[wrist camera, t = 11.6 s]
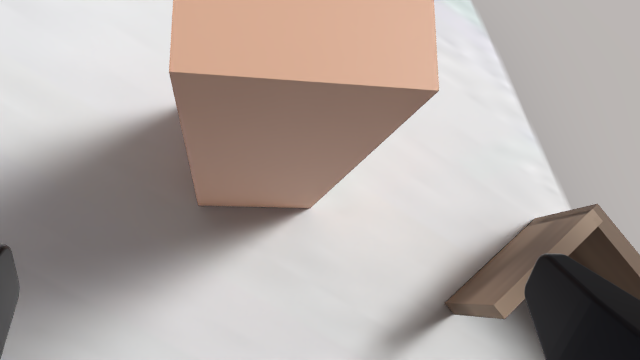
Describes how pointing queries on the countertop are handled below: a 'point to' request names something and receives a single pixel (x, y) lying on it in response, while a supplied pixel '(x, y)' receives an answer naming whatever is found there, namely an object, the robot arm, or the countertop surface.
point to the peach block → (294, 91)
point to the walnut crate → (553, 238)
